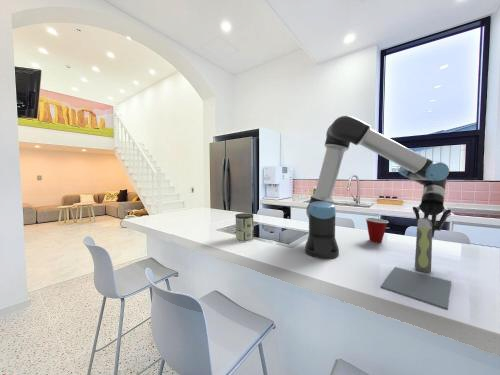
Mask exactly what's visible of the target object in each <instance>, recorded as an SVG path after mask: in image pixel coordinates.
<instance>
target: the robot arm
mask: <svg viewBox="0 0 500 375" xmlns="http://www.w3.org/2000/svg"><path fill="white" fill-rule="evenodd" d="M350 144H353V145H355V146H358V145H360V146H362V147H363V148H366V149H368V150H370V151H371V152H373V153H375V154H377V155H379V156H380V157H383V158H384V159H386V160H388V161H391V162H392V163H394V164H396V165H397V166H400V167H399V169H398V173H399V174H400V175H401V176H403V177H406V178H408V179H410V180H411V181H414V182H416V183H418V184H420V185H422V186H423V191H422V196H421V199H420V200H421V201H420V204H419V206H412V211H413V213H414V214H415V219H416V225H417V226H418V219H420V218H421V216H420V211H421V212H422V213H423V218H428V219H429V216H431V219H430V220H431V222H432V238H434V236H435V232H436V231H438V232H439V231H441V230H442V229H443V227H444V224H445V222H446V221H447V218H449V217H450V216H451V215H452V210H451V209H447V208H445V206H444V201H445V194H446V184H447V180H448V179H447V177H448V176H449V173H450V168H449V166H448V165H447V164H446V163H445V162H442V161H441V162H440V161H434V160H431V158H428V157H425V156H423V155H421V154H419V153H418V152H415V151H414V150H412V149H410V148H408V147H406V146H404V145H402V144H401V143H399V142H397V141H395V140H393V139H391V138H389V137H388V136H385V135H384V134H382V133H379V132H377V131H376V130H374V129H372V127H371V125H370V124H368V123H366V122H364V121H362V120H360V119H358V118H356V117H354V116H351V115H342V116H338V117H337V118H336V119H335V120H334V121H333V122H332V124H330V125H329V127H328V128H327V130H326V139H325V142H324V147H325V149H326V150H325V154H324V157H323V161H322V164H321V165H322V166H321V169H320V171H319V172H320V173H319V177H318V181H317V184H316V188H315V192H314V193H313V194H312V195H310V199H309V202H308V204H307V206H306V211H305V212H306V216H307V218H308V235H307V236H308V237H307V240H306V243H305V245H304V253H305V254H307V255H308V256H310V257H314V258H318V259H325V260H326V259H327V260H328V259H336V258H338V257H339V256H340V249H339V245H338V242H337V238H336V214H337V210H336V205H335V204H334V203H335V202H334V200H333V198H332V197H333V193H334V190H335V187H336V182H337V179H338V176H339V172H340V168H341V165H342V161H343V157H344V154H345V152H347V151H349V149H350V148H349V147H350ZM441 213H442V215H441V217H440V219H439V221H438V222H437V217H438V216H439V215H440V214H441ZM436 223H437V224H436Z"/></svg>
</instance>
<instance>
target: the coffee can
mask: <svg viewBox="0 0 500 375" xmlns="http://www.w3.org/2000/svg"><path fill="white" fill-rule="evenodd" d="M234 217H235V239H237V240H238V242H240V241H248V242H252V241H253V240H254V214H253V213H249V212H242V213H237V214H235V216H234ZM237 240H236V241H237Z"/></svg>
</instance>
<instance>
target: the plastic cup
mask: <svg viewBox="0 0 500 375" xmlns="http://www.w3.org/2000/svg"><path fill="white" fill-rule="evenodd" d="M365 220H366V226H367V232H368V237H369V241H370V242H373V243H382V242H383V240H384V235H385V232H386V227H387V225H388V224H389V221H388V220H387V219H386V220H385V219H381V218H376V217H366V218H365Z"/></svg>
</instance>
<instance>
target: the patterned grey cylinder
mask: <svg viewBox="0 0 500 375" xmlns="http://www.w3.org/2000/svg"><path fill="white" fill-rule="evenodd" d="M431 220H432V219H430V218H429V217H428V218H424V217H420V219H418V225H417V227H416V237H415V238H416V240H415V256H414V269H416V270H417V271H419V272H422V273H431V271H432V253H433V252H432V251H433V237H432V222H431Z"/></svg>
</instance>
